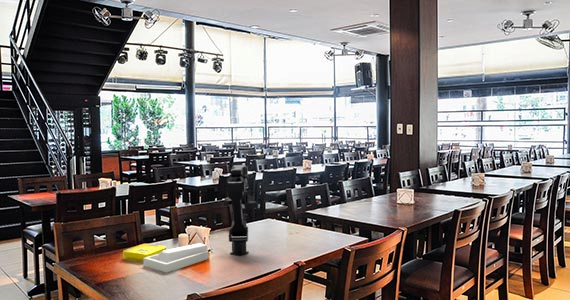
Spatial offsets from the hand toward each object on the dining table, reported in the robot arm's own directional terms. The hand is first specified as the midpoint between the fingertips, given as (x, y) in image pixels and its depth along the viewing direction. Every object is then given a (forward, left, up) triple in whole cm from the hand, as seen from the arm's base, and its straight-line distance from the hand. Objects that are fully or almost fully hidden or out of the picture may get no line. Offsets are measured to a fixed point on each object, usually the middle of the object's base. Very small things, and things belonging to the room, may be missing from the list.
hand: (241, 220), depth 221 cm
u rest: (+6, +35, -13) cm, 38 cm away
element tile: (+26, +39, -14) cm, 48 cm away
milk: (+2, +23, -10) cm, 25 cm away
